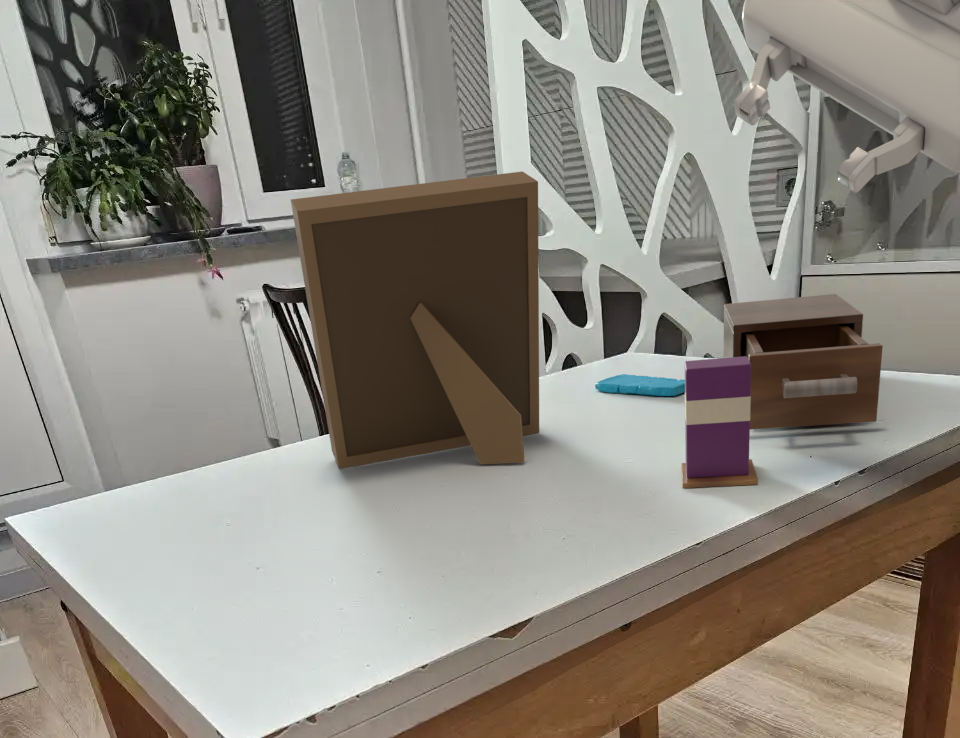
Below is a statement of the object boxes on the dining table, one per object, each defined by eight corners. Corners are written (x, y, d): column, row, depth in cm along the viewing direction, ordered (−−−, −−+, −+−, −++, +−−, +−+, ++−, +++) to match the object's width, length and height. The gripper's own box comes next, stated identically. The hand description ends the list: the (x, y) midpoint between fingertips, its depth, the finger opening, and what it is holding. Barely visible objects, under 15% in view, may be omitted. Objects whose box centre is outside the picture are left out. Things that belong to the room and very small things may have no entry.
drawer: (886, 433, 80) (893, 353, 77) (751, 441, 82) (753, 364, 79) (846, 386, 97) (851, 319, 94) (736, 394, 99) (737, 329, 96)
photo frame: (333, 459, 97) (285, 200, 86) (526, 425, 101) (504, 174, 90) (353, 496, 84) (300, 196, 73) (574, 455, 88) (556, 166, 77)
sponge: (660, 392, 104) (696, 376, 106) (590, 383, 113) (624, 368, 115) (662, 405, 104) (697, 389, 107) (592, 395, 114) (626, 380, 116)
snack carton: (745, 463, 78) (747, 355, 74) (749, 475, 75) (751, 364, 71) (685, 466, 79) (684, 360, 75) (686, 478, 76) (685, 369, 72)
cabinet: (857, 400, 95) (863, 313, 91) (732, 408, 97) (733, 325, 94) (831, 369, 109) (835, 293, 105) (723, 377, 112) (723, 304, 108)
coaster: (751, 463, 79) (751, 459, 79) (757, 484, 74) (758, 479, 74) (681, 467, 81) (681, 463, 80) (682, 488, 75) (682, 483, 75)
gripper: (828, -126, 60) (676, 46, 63) (1097, 2, 52) (911, 194, 55) (833, -46, 66) (694, 108, 68) (1076, 81, 58) (909, 251, 60)
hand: (792, 147), depth 61 cm, fingers open, 8 cm apart
